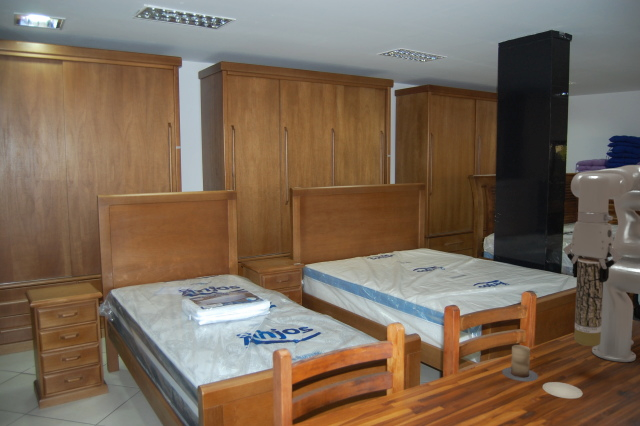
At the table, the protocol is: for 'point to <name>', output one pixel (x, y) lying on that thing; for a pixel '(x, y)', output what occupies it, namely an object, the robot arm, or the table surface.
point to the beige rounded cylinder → (520, 361)
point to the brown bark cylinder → (588, 302)
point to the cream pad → (562, 390)
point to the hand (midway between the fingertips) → (589, 278)
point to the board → (531, 377)
